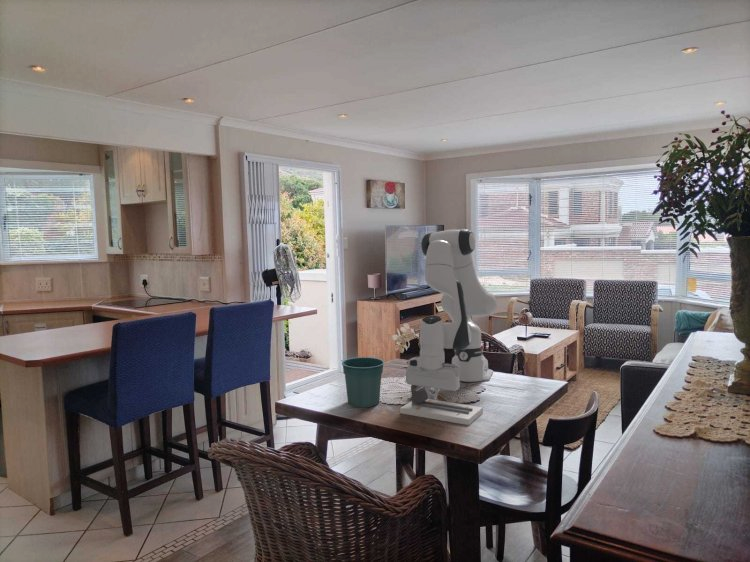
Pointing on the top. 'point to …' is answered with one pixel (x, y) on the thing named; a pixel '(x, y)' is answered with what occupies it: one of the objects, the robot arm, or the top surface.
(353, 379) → the flower pot
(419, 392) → the fader tab
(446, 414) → the white slider track base
